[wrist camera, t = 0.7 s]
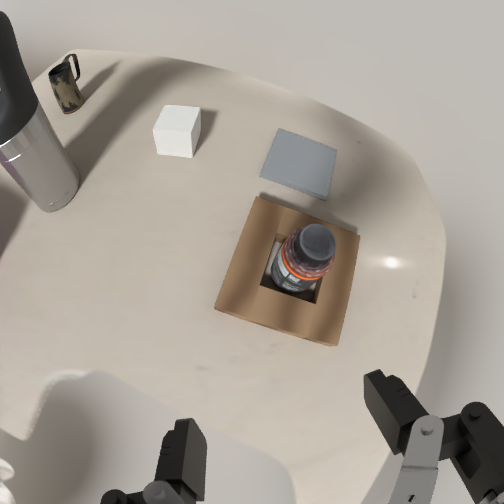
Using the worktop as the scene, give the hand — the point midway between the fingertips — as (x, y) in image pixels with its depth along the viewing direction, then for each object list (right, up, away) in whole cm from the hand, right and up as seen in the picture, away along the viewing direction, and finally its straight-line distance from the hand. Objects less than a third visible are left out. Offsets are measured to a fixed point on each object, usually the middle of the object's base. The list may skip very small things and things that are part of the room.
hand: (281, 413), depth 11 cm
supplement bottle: (+4, +4, +27) cm, 28 cm away
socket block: (+4, +4, +27) cm, 27 cm away
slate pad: (+7, +22, +34) cm, 41 cm away
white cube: (-13, +25, +33) cm, 43 cm away
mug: (-40, +40, +34) cm, 66 cm away
